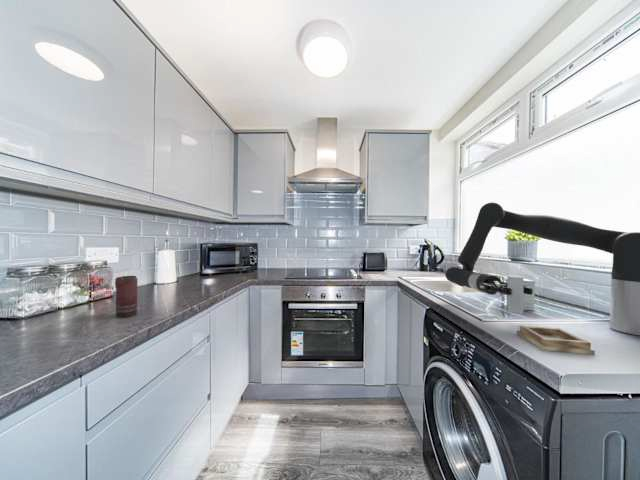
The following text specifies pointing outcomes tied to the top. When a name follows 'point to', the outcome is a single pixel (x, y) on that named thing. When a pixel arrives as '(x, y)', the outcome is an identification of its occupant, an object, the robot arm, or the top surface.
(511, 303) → the skincare box
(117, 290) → the can
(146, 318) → the top surface
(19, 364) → the top surface
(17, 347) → the top surface
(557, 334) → the wooden tray
